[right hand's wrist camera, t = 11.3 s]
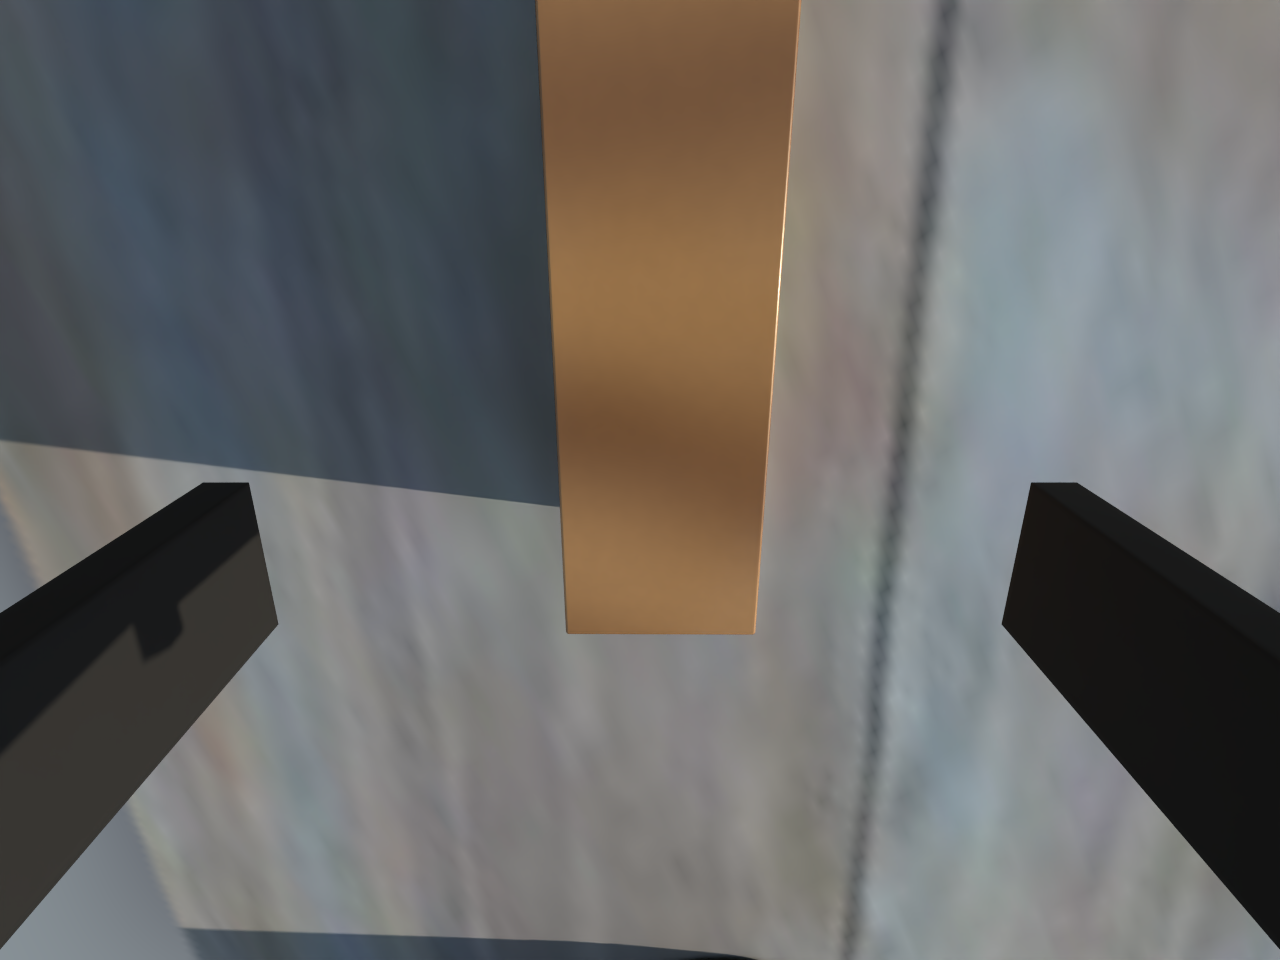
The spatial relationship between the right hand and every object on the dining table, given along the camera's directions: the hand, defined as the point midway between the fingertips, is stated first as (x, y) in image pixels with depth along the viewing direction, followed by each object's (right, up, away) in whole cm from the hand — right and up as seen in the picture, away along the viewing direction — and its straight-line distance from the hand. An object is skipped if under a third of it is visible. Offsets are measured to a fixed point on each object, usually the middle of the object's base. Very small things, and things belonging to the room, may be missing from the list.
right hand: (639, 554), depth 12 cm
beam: (+1, +26, +3) cm, 26 cm away
